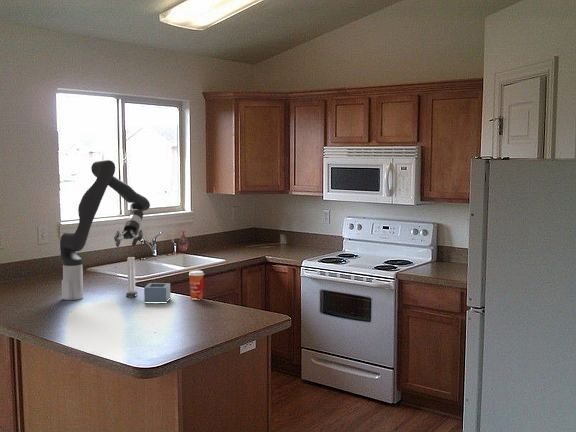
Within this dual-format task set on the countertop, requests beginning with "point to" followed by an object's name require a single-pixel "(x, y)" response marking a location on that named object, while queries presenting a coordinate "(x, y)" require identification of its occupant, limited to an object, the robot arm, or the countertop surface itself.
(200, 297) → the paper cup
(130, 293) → the white upright rod
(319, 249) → the countertop surface
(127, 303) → the countertop surface
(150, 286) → the grey open box
